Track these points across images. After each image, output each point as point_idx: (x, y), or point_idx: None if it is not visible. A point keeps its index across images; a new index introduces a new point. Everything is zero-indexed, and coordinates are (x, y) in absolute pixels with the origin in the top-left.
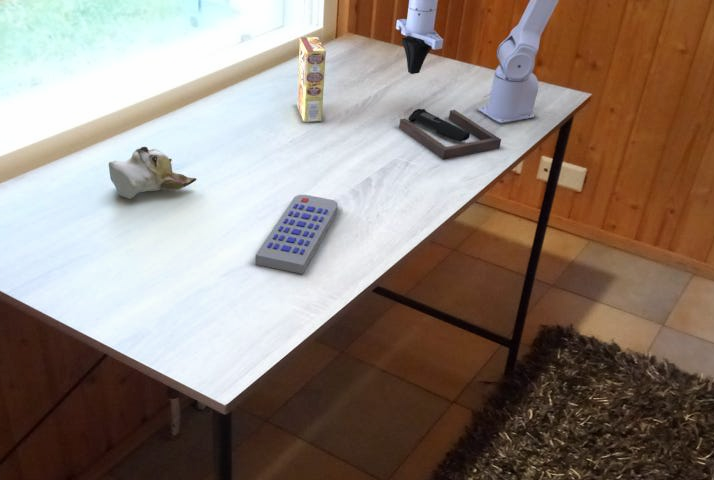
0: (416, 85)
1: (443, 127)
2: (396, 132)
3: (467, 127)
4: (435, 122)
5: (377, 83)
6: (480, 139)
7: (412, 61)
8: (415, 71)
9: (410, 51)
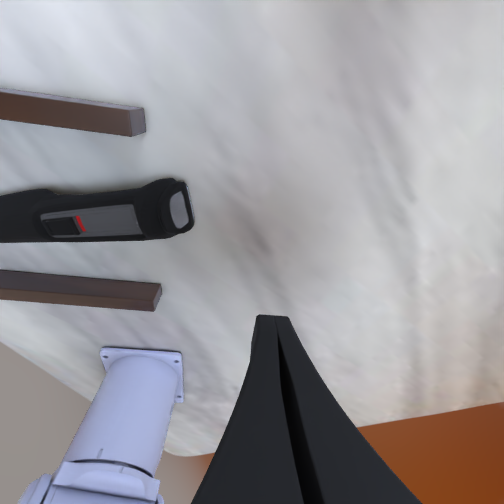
0: (364, 335)
1: (15, 208)
2: (106, 65)
3: (69, 283)
4: (50, 207)
5: (452, 276)
6: (11, 271)
7: (247, 375)
8: (253, 337)
9: (270, 454)
